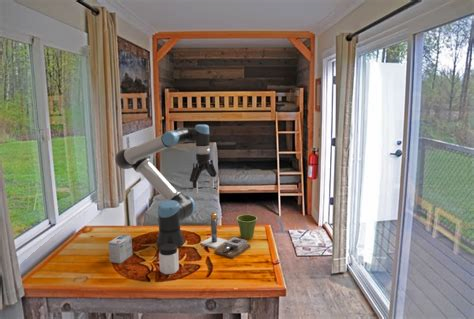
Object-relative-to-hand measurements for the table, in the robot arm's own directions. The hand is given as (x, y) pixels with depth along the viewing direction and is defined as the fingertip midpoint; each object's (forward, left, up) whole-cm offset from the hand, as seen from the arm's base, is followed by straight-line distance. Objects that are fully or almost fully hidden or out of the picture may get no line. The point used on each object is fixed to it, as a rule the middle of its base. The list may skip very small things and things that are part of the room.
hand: (204, 190), depth 211 cm
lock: (+22, -4, -29) cm, 36 cm away
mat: (+8, -2, -29) cm, 30 cm away
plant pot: (+18, +16, -29) cm, 38 cm away
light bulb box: (-20, -43, -29) cm, 56 cm away
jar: (+10, -39, -29) cm, 49 cm away
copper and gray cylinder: (+8, -2, -28) cm, 29 cm away
